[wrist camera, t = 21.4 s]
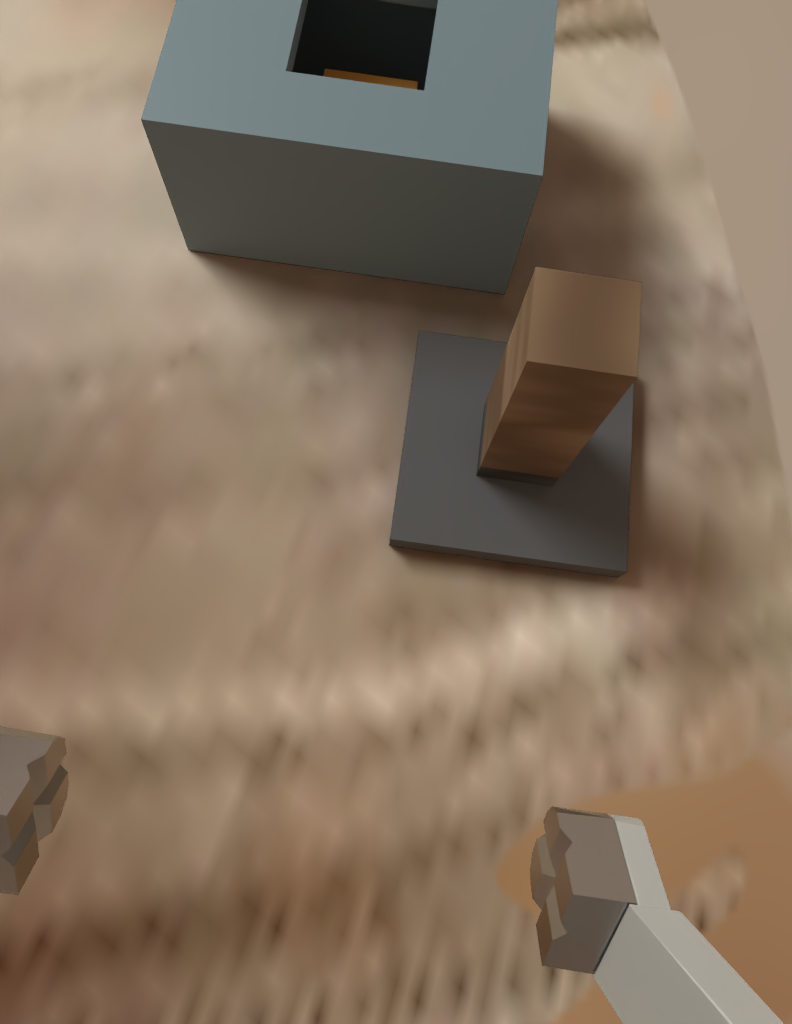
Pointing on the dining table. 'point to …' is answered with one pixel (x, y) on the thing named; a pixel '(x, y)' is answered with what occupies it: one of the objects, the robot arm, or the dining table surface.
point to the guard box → (356, 132)
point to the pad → (496, 502)
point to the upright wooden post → (559, 374)
